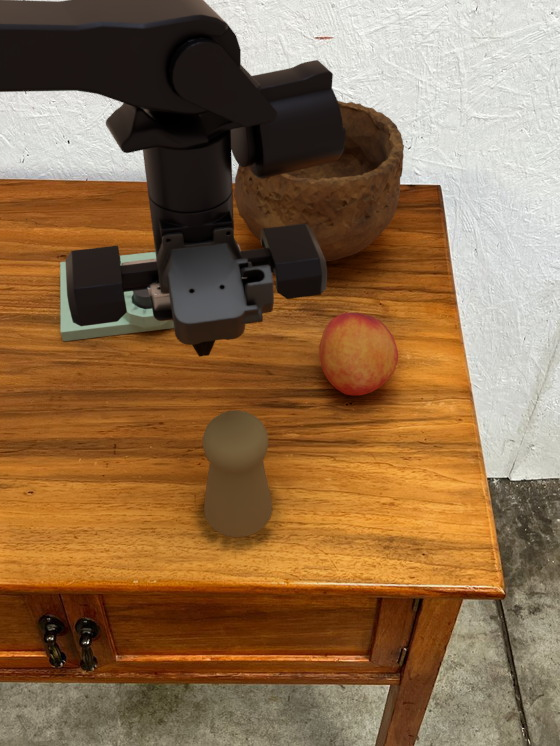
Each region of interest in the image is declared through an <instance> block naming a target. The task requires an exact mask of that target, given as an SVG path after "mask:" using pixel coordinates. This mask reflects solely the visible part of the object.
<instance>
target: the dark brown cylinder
mask: <svg viewBox="0 0 560 746" xmlns="http://www.w3.org/2000/svg"><path fill="white" fill-rule="evenodd" d="M133 295H134V301H135V304H136V305H137V306H138V307H139V308H142V309H152V304H151V298H150V296H149V293H148V289H144V290H136V291H133Z"/></svg>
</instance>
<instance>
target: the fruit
mask: <svg viewBox="0 0 560 746" xmlns="http://www.w3.org/2000/svg"><path fill="white" fill-rule="evenodd" d="M318 358H319V364H320V367H321V370H322V372H323V374H324V376H325V379H327V381H328V382H329V383H330V384H331V385H332V386H333V387H334V388H335V389H336V390H337V391H339V392H340V393H342V394H344V395H347V396H364V395H367V394H370V393H372V392H374V391H376V390H377V389H379V388H381V387H382V386H383V385H384V384H386V382H388V381H389V380H390V379H391V377H392V376H393V374H394V373H395V370H396V368H397V365H398V361H399V350H398V346H397V343H396V341H395V338H394V335H393V334H392V333H391V331H390V329H389V328H388V327H387V326H386V324H384V323H383V321H381V320H379V319H378V318H375V317H374V316H372V315H367V314H364V313H360V312H343V313H341V314H339V315H336V316H335V317H333V318H332V319H331V320H330V321H329V322H328V324H327V325H326V326H325V328H324V330H323V333H322V336H321V338H320V341H319V345H318Z"/></svg>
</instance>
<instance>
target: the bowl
mask: <svg viewBox="0 0 560 746" xmlns="http://www.w3.org/2000/svg"><path fill="white" fill-rule="evenodd" d="M337 101H338V104H339V107H340V111H341V116H342V123H343V127H344V128H345V130H346V140H345V146H344V150H343V153H342V155H341V156H340V158H339V159H338V160H336V161H334V162H330V163H326V164H321V165H317V166H313V167H309V168H305V169H301V170H297V171H293V172H289V173H285V174H280V175H276V176H272V177H268V178H264V179H260V178H258V177H257V176H255V175H254V174H253V172H252V171H251V169H250V168H249V166H248V167H244V168H243V167H241V166H240V165H239V164H238V167H237V169H236V174H235V177H234V192H233V193H234V194H233V197H234V200H235V205H236V209H237V213H238V215H239V216H240V217H241V219H242V220H243V222H244V223H245V224H246V226H247V228H248V229H249V231H250V232H251V233H252V234H253V235H254V236H255V238H256V239H258V241H260V242H261V230H262V229H263V228H271V227H280V226H289V225H297V224H307V225H308V226H309V227H310V228H311V229H312V230H313V232H314V234H315V236H316V239H317V241H318V244H319V246H320V249H321V251H322V253H323V256H324V258H325V261H326V263H327V262H332V261H338V260H340V259H341V260H342V259H344V258H346V257H350V256H353V255H356V254H357V253H360V252H362V251H363V250H365V249H366V248H368V247H369V246H370V245H371V244H373V243H374V241H376V239H378V238H379V237H380V235H381V234H382V233H383V232H384V230H385V229H386V228H387V227H388V226H389V225H390V223H391V221H392V220H393V218H394V216H395V213H396V211H397V208H398V205H399V200H400V197H401V178H402V177H403V176H402V175H403V169H404V168H403V167H404V149H405V144H404V140H403V136H402V132H400V130H399V128H398V126H397V124H396V123H395V122H394V121H393V120H391V118H390V117H389V116H387V115H385V114H384V113H383V112H381V111H377V110H376V109H375V108H373V107H367V106H365V105H363V104H362V103H359V102H358V103H355V102H353V101H349V102H345V101H340V100H337Z"/></svg>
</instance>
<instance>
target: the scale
mask: <svg viewBox="0 0 560 746" xmlns="http://www.w3.org/2000/svg"><path fill="white" fill-rule="evenodd" d="M148 259H156V253H155V251H150V252H141V253H132V254H122V255H120V260H121V264H122V263H124V262H131V261H139V260H148ZM59 272H60V273H59V276H60V277H59V279H60V280H59V282H60V283H59V284H60V285H59V287H60V289H59V293H60V294H59V295H60V300H59V302H60V306H59V308H60V310H59V311H60V315H59V318H60V319H59V320H60V323H59V324H60V329H59V330H60V335H61V339H62V342H70V341H79V340H85V339H95V338H103V337H110V336H111V337H112V336H119V335H128V334H135V333H137V334H138V333H143V332H151V331H160V330H161V331H163V330H169V329H170V330H171V329H174V322H173V320H166V321H158V320H156V319H155V318H154V316H153V311H152V309H142V308H139V307H138V306H137V305H136V304H135V301H134V295H133V291H128V292H124V296H125V302H126V309H127V313H126V314H125V315H124V316H123V317H122V318H121V319H120V320H119V321H117V322H111V323H103V324H96V325H88V326H79V325H77V324H75V323H73V321H72V317H71V313H70V309H69V304H68V297H67V283H66V261H60V263H59Z"/></svg>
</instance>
